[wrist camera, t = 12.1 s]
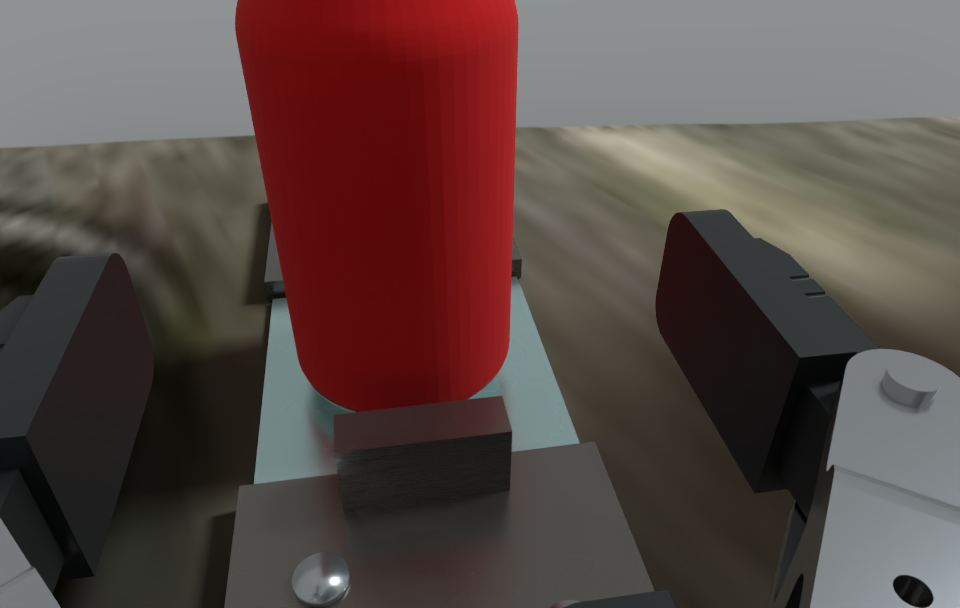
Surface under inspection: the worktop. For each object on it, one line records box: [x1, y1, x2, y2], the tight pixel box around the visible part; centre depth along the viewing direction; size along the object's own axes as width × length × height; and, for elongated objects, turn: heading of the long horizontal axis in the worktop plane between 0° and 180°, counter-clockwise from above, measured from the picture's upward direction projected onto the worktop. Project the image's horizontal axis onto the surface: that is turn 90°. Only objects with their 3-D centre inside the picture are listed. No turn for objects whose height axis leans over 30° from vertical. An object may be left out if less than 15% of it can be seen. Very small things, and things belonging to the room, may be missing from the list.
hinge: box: [224, 222, 655, 608], centre depth 22 cm, size 9×24×3 cm, turn 10°
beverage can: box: [235, 0, 518, 413], centre depth 19 cm, size 6×6×12 cm
